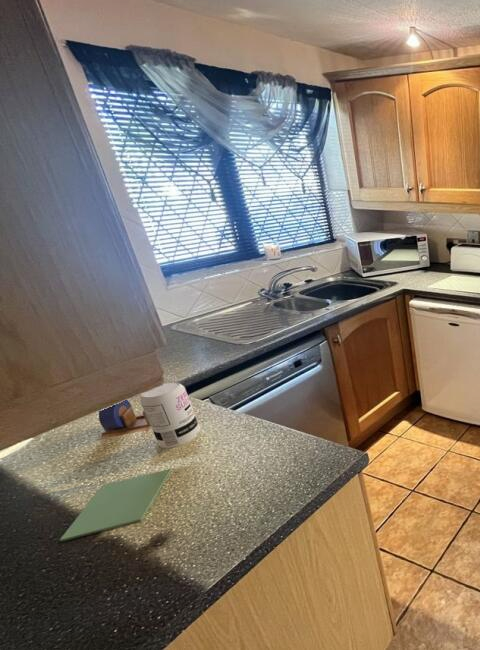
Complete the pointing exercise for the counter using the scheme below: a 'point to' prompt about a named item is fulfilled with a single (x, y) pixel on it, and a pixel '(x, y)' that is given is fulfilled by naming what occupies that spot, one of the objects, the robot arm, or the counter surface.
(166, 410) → the supplement can
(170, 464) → the counter surface
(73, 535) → the mat
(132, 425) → the tape rack
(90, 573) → the counter surface
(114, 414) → the vinyl tape
